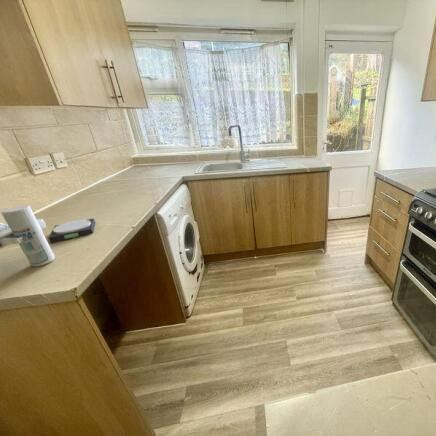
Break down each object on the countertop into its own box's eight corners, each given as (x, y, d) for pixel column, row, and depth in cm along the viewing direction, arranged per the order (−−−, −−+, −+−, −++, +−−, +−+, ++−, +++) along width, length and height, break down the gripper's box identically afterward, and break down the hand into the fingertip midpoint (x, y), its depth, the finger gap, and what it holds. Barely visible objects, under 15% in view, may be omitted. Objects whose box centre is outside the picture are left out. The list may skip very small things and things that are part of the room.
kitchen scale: (50, 243, 98) (46, 236, 97) (57, 230, 109) (54, 224, 108) (93, 234, 105) (90, 227, 104) (95, 222, 116) (93, 216, 115)
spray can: (26, 268, 82) (-6, 213, 74) (37, 258, 88) (9, 206, 80) (49, 264, 84) (21, 210, 76) (59, 254, 89) (34, 203, 81)
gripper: (28, 230, 92) (63, 230, 91) (-43, 260, 73) (1, 260, 72) (20, 214, 89) (56, 214, 89) (-55, 241, 71) (-10, 242, 70)
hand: (30, 235), depth 80 cm, fingers closed on spray can, 5 cm apart
